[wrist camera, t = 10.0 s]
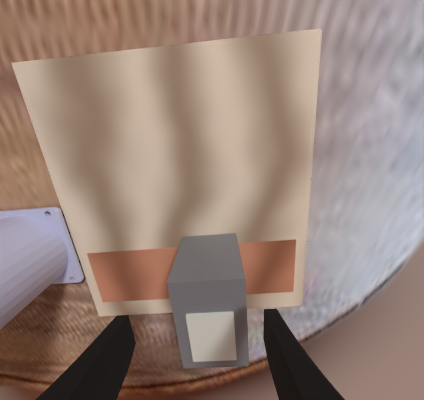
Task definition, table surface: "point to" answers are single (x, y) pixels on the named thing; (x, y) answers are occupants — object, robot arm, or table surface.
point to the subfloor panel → (181, 159)
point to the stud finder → (210, 302)
